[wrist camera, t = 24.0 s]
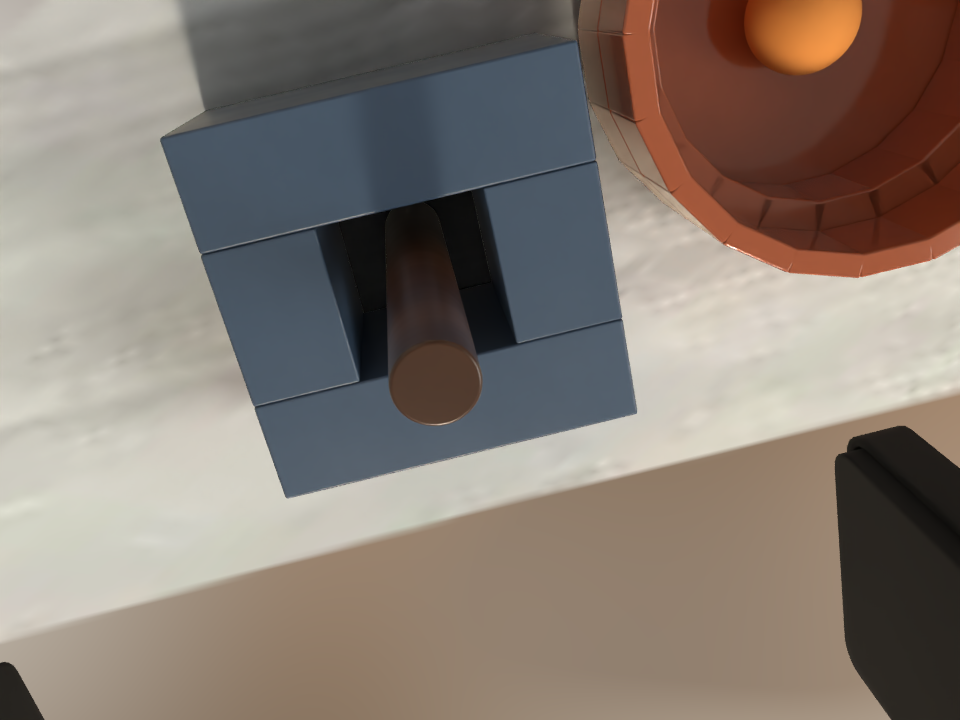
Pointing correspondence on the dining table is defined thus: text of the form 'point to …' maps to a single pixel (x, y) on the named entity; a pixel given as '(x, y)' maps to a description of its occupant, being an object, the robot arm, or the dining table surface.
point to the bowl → (787, 130)
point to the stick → (426, 323)
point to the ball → (801, 32)
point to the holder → (392, 184)
